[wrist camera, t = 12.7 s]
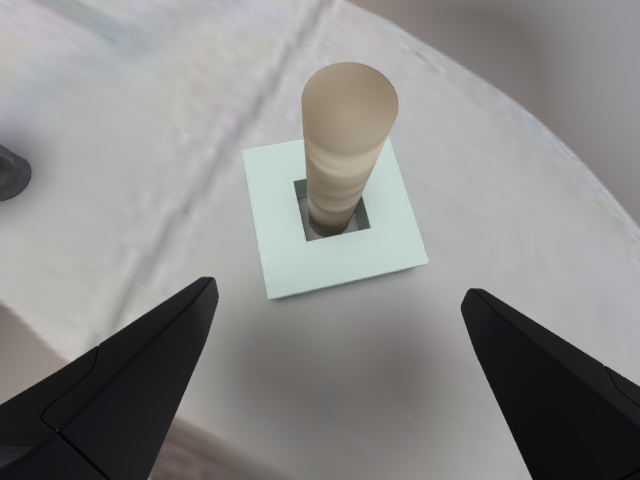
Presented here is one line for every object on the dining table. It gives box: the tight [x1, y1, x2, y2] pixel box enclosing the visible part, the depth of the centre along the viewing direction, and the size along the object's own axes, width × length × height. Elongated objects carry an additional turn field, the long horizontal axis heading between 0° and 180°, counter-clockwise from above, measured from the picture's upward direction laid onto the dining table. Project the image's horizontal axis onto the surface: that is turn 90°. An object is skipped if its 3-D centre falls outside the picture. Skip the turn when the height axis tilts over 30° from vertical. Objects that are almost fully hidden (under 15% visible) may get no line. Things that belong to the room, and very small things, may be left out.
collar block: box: [242, 136, 429, 300], centre depth 21 cm, size 12×12×4 cm
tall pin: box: [302, 62, 398, 237], centre depth 16 cm, size 4×4×14 cm
